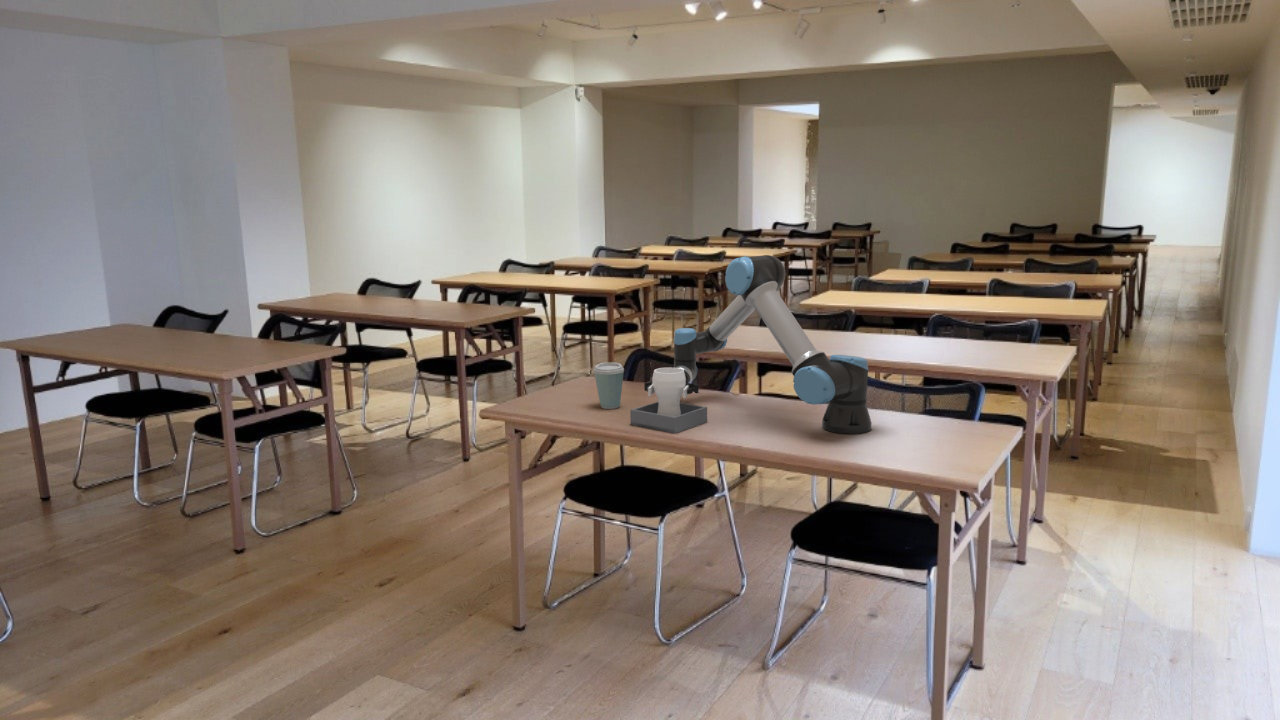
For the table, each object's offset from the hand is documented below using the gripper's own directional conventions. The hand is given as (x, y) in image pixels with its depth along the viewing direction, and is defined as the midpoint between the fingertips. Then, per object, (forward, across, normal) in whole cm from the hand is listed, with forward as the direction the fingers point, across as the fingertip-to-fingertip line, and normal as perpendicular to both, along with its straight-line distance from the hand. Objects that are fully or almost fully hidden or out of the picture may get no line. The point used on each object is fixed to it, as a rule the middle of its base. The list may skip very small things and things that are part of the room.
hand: (666, 393), depth 289 cm
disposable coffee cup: (-22, +25, -11) cm, 35 cm away
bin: (-4, 0, -11) cm, 12 cm away
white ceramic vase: (-4, 0, -9) cm, 10 cm away
